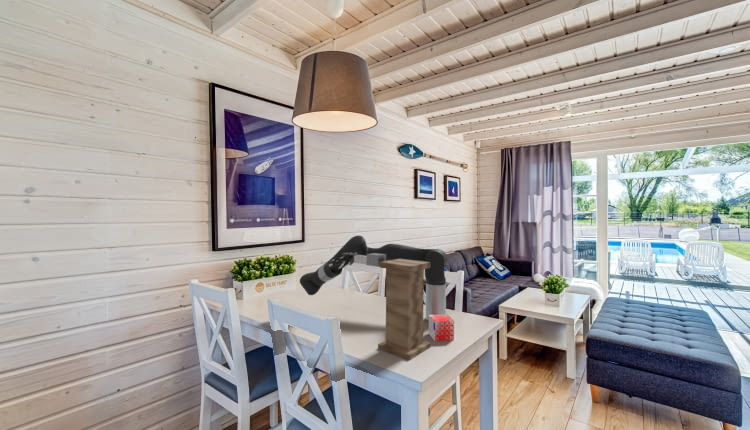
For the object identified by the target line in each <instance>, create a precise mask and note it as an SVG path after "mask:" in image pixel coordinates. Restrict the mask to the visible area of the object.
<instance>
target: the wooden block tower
mask: <svg viewBox="0 0 750 430" xmlns="http://www.w3.org/2000/svg"><path fill="white" fill-rule="evenodd" d="M430 265H431V262H424V261H416V260H408V259H395V260H389V261H383V262H380V267H379V268H380V269H386V270H385V272H386V273H385V274H386V275H385V285H386V286H385V340H384V341H382V342H380V343H378V344H377V349H378V350H381V351H383V352H386V353H389V354H392V355H395V356H397V357H401V358H403V359H406V360H412V359H414V358H415V357H416V356H419V355H420V354H421V353H423V352H425V351H426V350H428V349H430V348H431V342H429V341H426V340H424V295H425V294H424V292H425V291H424V286H425V285H424V283H425V279H424V277H425V269H427V268H430Z"/></svg>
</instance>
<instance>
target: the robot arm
mask: <svg viewBox="0 0 750 430" xmlns="http://www.w3.org/2000/svg"><path fill="white" fill-rule="evenodd" d="M342 253H349V254H347V255H346V256H344V257H342ZM350 253H354V254H359V255H364V256H367V254H371V253H379V254H386V261H389V260H395V259H408V260H416V261H424V262H431V265H430V268H427V269H424V277H425V321H428V322H429V315H439V314H447V295H446V294H447V293H446V292H447V291H446V290H447V285H446V284H447V282H446V281H447V279H446V276H445V265H447V263H448V260H449V258H448V255H447V253H446V252H445V251H444V250H442V249H440V248H419V247H414V246H410V245H404V244H398V243H386V244H384V245H382V246H380V247H370V246H368V245H367V242H366V239H365V238H364V236H362V235H354V236H353V237H351V238H349V240H348V241H347V242H345V244H344V245H342V246H341V248H340V249H339V250H338V251H337V252H336V253H335V254H334V255H333V256H332V257H331V258H330V259H329V260H328V261H326V262H325V263H324V264H323V265H321V266H320V267H319V268H318V269H316V270H315V271H312V272H308V273H305V274H303V275H302V276H301V277H300V279H299V284H300V286H301V287H302V288H303V290H304V291H305V292H306V293H307V295H308V296H314V295H316V294H317V293H318V292H319V291H320V289H321V288H322V286H323V285H325V284H326V283H327V282H330V281H331V280H333V279H335V278H336V277H338V276H340V275H341V274H342V272H343V269H345V268H346V267H348V266H352V265H353V264H354V263H352V262H346V261H348V260H349V259H351V258H352V256H351V254H350Z"/></svg>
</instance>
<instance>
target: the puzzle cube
mask: <svg viewBox="0 0 750 430" xmlns="http://www.w3.org/2000/svg"><path fill="white" fill-rule="evenodd" d="M428 335H430V337H431V338H432V339H433V341H435V342H439V341H442V342H443V341H455V320H454V319H453V318H452V317H451V316H449V315H448V314H447V313H446V314H439V315H429V321H428Z"/></svg>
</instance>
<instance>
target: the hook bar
mask: <svg viewBox="0 0 750 430" xmlns="http://www.w3.org/2000/svg"><path fill="white" fill-rule="evenodd" d="M347 254H349V253H342V257H344V256H346V255H347ZM350 254H351V256H352V258H351V259H349V260H348V261H346V262H352V263H353V264H362V265H366V266H371V267H376V268H380V262H383V261H386V254H379V253H371V254H367V256H364V255H359V254H354V253H350Z"/></svg>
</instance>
